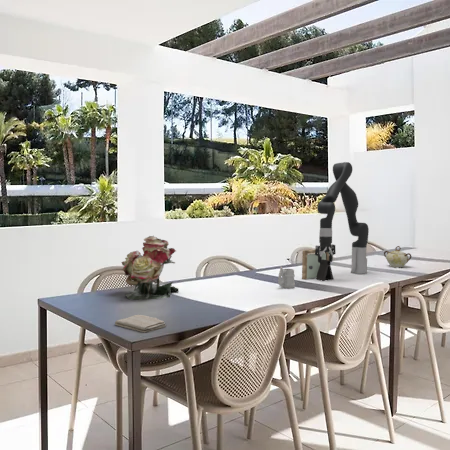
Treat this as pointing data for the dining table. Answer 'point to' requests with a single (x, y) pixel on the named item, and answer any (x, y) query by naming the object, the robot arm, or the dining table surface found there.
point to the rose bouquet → (148, 269)
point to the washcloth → (141, 323)
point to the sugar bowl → (397, 258)
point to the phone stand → (325, 271)
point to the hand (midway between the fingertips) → (325, 262)
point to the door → (313, 265)
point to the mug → (286, 278)
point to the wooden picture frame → (304, 261)
